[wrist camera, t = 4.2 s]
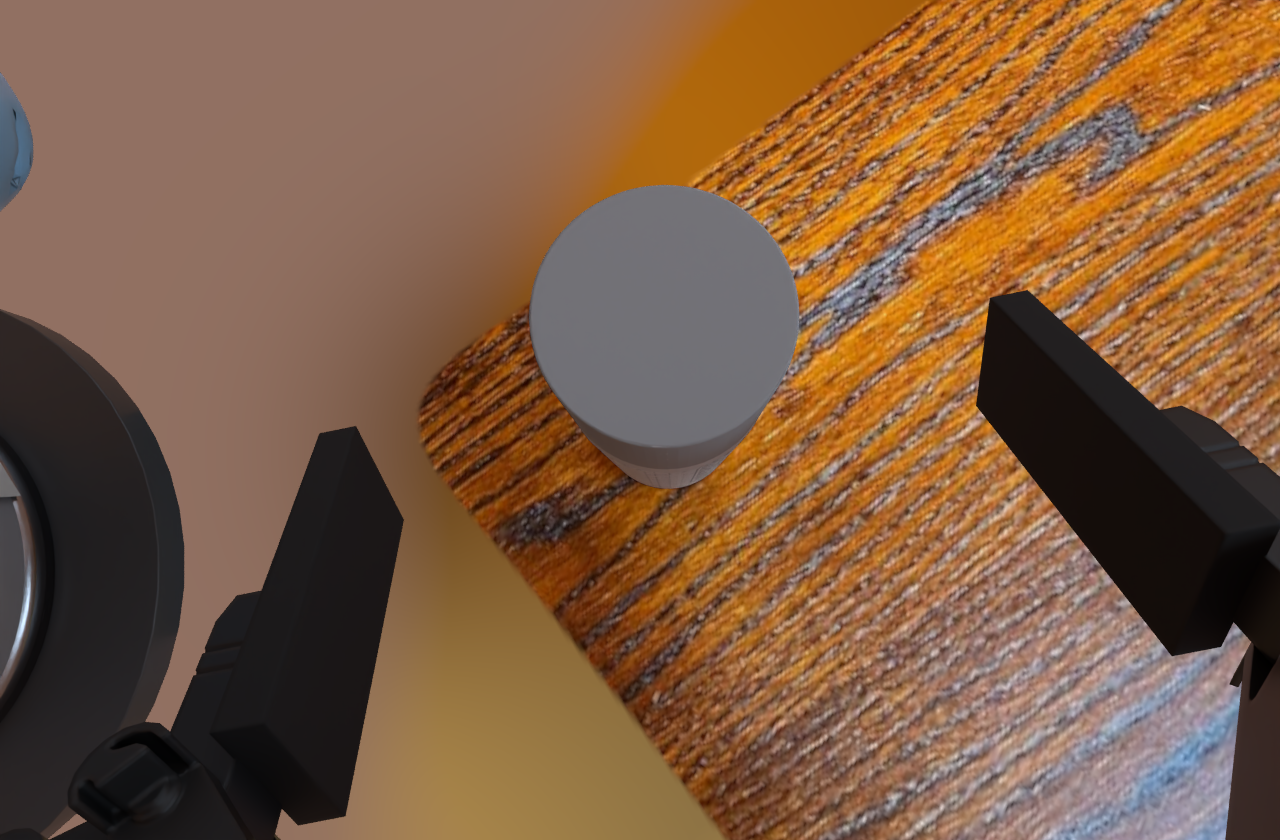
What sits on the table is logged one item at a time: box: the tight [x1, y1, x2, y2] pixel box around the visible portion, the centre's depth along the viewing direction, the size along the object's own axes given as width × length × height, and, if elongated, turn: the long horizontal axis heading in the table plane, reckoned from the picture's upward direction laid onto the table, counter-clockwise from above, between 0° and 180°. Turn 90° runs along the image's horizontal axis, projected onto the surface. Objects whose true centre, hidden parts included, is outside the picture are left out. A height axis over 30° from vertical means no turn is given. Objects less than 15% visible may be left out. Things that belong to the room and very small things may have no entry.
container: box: [529, 185, 799, 489], centre depth 20 cm, size 5×5×15 cm
